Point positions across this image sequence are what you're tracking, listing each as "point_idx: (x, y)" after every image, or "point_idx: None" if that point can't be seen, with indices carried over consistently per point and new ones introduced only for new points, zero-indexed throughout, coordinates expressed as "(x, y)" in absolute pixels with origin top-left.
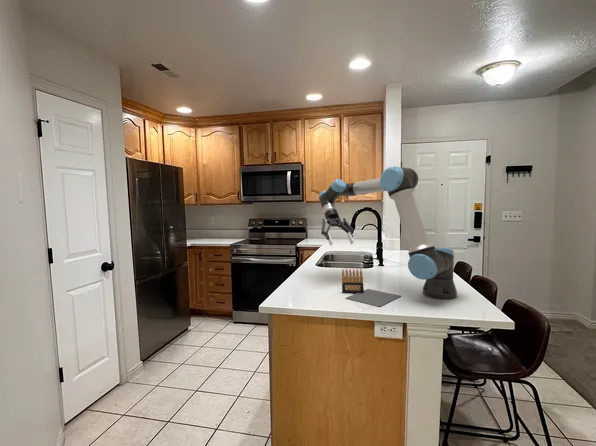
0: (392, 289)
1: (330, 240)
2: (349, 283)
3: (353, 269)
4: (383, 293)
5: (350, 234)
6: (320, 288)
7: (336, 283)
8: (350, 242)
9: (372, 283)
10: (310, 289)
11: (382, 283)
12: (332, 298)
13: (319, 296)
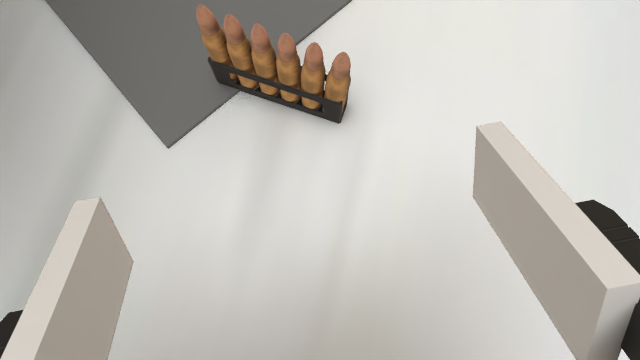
0: (17, 130)
1: (523, 159)
2: (301, 67)
3: (260, 24)
4: (114, 42)
5: (32, 324)
6: (465, 219)
7: (333, 330)
8: (124, 280)
9: None
10: None
11: (12, 278)
12: (423, 13)
13: (492, 57)
